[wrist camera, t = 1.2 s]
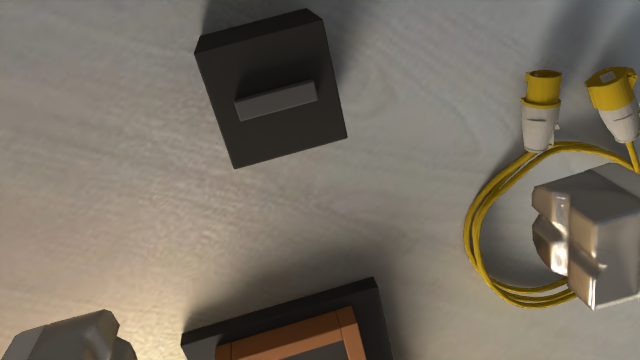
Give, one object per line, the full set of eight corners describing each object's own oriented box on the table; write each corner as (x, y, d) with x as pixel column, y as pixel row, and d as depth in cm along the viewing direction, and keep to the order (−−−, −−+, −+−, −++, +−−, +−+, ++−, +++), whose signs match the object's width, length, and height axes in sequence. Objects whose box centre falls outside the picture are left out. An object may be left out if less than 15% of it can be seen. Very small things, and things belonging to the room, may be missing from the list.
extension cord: (708, 89, 27) (742, 98, 25) (581, 303, 33) (601, 324, 31) (531, 40, 24) (556, 47, 22) (427, 288, 30) (440, 310, 28)
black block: (233, 136, 23) (234, 174, 19) (199, 35, 21) (192, 54, 17) (330, 110, 23) (350, 141, 19) (307, 7, 21) (324, 19, 17)
